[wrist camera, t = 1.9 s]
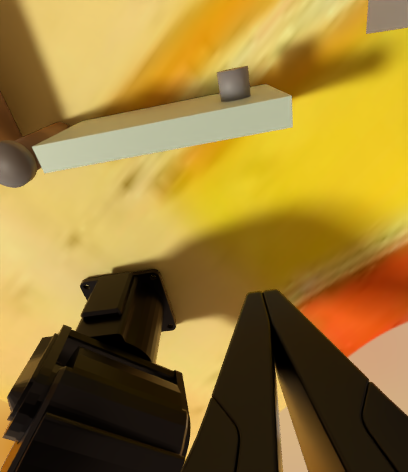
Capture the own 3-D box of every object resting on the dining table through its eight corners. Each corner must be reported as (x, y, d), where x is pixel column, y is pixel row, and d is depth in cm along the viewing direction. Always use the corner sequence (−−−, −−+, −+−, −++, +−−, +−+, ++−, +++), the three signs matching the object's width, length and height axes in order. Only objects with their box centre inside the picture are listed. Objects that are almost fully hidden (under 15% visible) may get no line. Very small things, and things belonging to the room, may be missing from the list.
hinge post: (84, 149, 19) (38, 183, 14) (54, 154, 19) (-2, 190, 14) (71, 115, 18) (16, 139, 13) (40, 122, 18) (-27, 148, 13)
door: (89, 141, 19) (44, 173, 13) (73, 99, 17) (17, 117, 12) (267, 106, 18) (292, 127, 12) (264, 59, 16) (290, 60, 11)
